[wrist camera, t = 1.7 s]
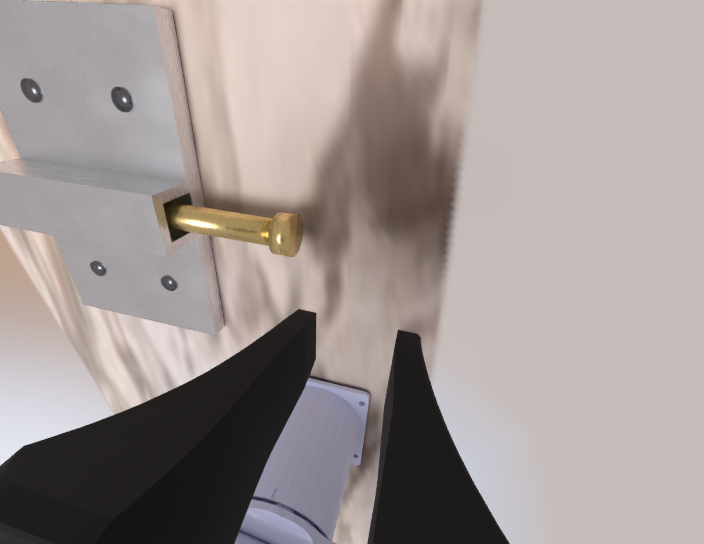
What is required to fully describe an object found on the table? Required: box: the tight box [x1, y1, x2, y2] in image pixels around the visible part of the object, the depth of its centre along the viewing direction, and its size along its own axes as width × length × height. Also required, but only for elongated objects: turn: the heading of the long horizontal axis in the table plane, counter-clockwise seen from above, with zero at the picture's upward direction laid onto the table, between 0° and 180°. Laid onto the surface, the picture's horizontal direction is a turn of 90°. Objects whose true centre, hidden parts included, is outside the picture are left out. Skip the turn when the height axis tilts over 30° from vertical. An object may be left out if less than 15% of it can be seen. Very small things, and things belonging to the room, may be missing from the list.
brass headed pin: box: [163, 202, 303, 257], centre depth 19 cm, size 13×2×2 cm, turn 86°
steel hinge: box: [0, 0, 225, 335], centre depth 20 cm, size 12×20×4 cm, turn 176°
